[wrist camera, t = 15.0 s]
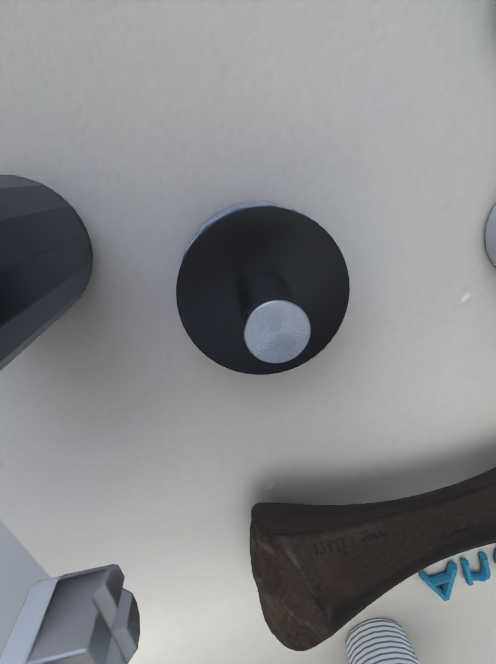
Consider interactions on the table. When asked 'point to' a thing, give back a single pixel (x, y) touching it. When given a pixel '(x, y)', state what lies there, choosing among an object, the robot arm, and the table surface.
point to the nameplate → (450, 574)
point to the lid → (262, 290)
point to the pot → (37, 262)
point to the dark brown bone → (357, 553)
